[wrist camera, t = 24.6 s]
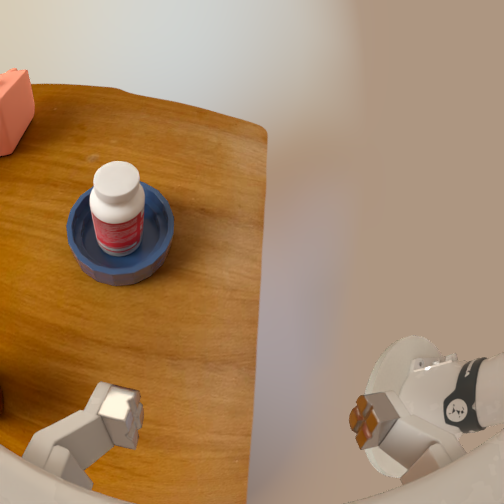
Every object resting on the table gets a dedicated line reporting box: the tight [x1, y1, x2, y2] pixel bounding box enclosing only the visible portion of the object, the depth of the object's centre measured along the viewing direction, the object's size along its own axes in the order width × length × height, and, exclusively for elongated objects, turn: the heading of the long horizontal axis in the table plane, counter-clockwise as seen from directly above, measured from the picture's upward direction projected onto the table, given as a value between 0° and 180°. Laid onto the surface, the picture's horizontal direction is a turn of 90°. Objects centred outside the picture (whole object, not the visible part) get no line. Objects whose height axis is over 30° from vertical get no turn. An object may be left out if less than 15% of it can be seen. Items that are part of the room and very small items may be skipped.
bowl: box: [67, 181, 174, 286], centre depth 31 cm, size 13×14×4 cm
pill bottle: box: [90, 161, 145, 257], centre depth 27 cm, size 6×6×11 cm
